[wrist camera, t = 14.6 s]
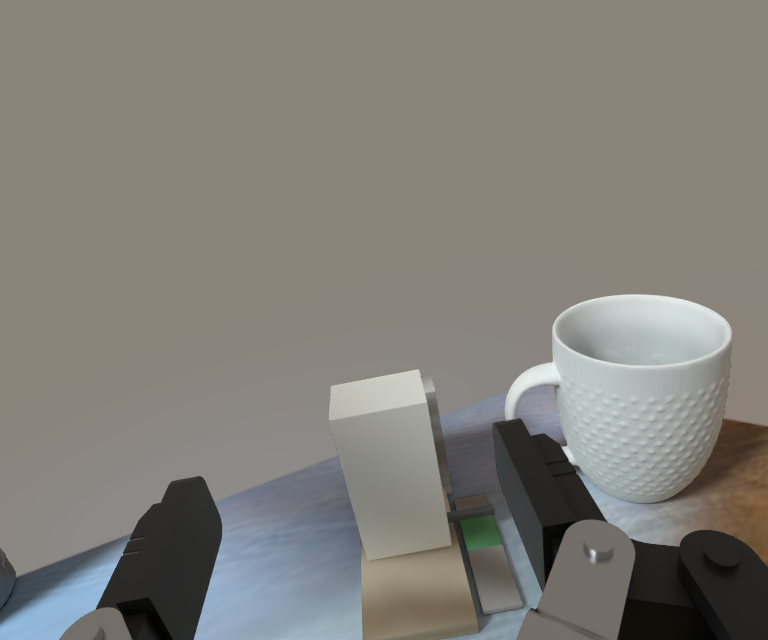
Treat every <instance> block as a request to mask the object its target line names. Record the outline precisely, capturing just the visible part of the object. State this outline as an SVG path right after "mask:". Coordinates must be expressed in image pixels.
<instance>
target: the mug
mask: <svg viewBox="0 0 768 640" xmlns="http://www.w3.org/2000/svg"><path fill="white" fill-rule="evenodd" d="M552 332H553V333H552V340H553V352H552V354H553V362H551V363H545V364H541V365H538V366H535V367H532V368H530V369H529V370H527V371H525V372H524V373H523V374H521V375H520V376H519V377H518V378H517V379H516V380H515V382H514V383H513V385H512V386H511V388H510V390H509V392H508V395H507V398H506V402H505V421H507V420H512V419H517V410H518V406H519V403H520V401H521V398H522V397H523V396H524V394H525V393H526V392H527V391H528V390H530V389H532V388H535V387H537V386H542V385H555V397H556V401H557V409H558V414H559V420H560V424H561V427H562V430H563V434H564V437H565V439H566V441H567V446H563V447H562V449H563V451H564V452H565V454H566V456H567V457H568V459H569V462H571V464H572V465H577V466H579V467H580V469H581V470H582V472H583V473H584V474H585V476H586V477H587V478H588V479H589V480H590V481H591V482H592V483H593V484H594V485H595V486H596V487H597V488H599V489H600V490H601V491H603V492H605V493H606V494H608V495H610V496H613V497H615V498H617V499H621V500H624V501H628V502H634V503H654V502H659V501H663V500H665V499H668V498H670V497H672V496H674V495H676V494H677V493H679V492H680V491H681V490H682V489H684V488H685V487H686V486H687V485H688V484H690V483H691V482H692V481H693V479H694V478H695V477H696V476H697V475H699V473H700V471H701V469H702V468H703V467H704V466H705V464H706V462H707V459H708V458H709V457H710V455H711V453H712V450H713V447H714V445H715V443H716V441H717V438H718V434H719V432H720V430H721V426H722V418H723V416H724V413H725V410H724V409H725V402H726V398H727V388H728V385H729V377H730V376H729V375H730V374H729V373H730V368H731V351H732V342H733V333H732V329H731V327H730V325H729V324H728V322H727V321H726V320H725V319H724V318H723V317H722V316H720V315H719V314H717V313H716V312H715V311H713V310H711V309H709V308H706V307H704V306H702V305H699V304H696V303H694V302H690V301H687V300H682V299H678V298H673V297H667V296H659V295H637V294H635V295H616V296H608V297H601V298H596V299H592V300H588V301H585V302H582V303H579V304H576V305H575V306H572V307H571V308H569V309H567V310H566V311H564V312H563V313H562V314H560V315H559V316H558V318H557V319H556V320H555V322H554V324H553V331H552Z"/></svg>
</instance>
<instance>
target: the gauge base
mask: <svg viewBox="0 0 768 640" xmlns="http://www.w3.org/2000/svg"><path fill="white" fill-rule="evenodd" d="M421 380H422V384H423V388H424V392H425V396H426V400H427V404H428V410H429V416H430V422H431V428H432V433H433V439H434V445H435V451H436V456H437V462H438V468H439V474H440V479H441V485H442V491H443V497H444V502H445V508H446V513H448V512H451V510H450V506H449V502H448V498H447V495H448V494H452V490H451V484H450V478H449V472H448V466H447V460H446V454H445V448H444V441H443V435H442V429H441V423H440V417H439V411H438V405H437V399H436V393H435V389H434V385H433V382H432V379H431V375H424V376H421ZM330 395H331V393H330ZM329 404H330V403H329ZM329 409H330V405H329ZM454 503H455V507H456V511H458V510H464V509H469V508H475V507H480V506H485V505H489V504H488V501H487V498H486V496H485V493H484V494H478V495H473V496H468V497H462V498H457V499H454ZM459 522H460V526H461V530H462V534H463V538H464V542H465V546H466V549H467V553H468V557H469V561H470V565H471V569H472V573H473V576H474V580H475V584H476V588H477V592H478V596H479V600H480V603H481V607H482V611H483V615H487V614H493V613H498V612H504V611H509V610H515V609H520V608H523V603H522V600H521V597H520V595H519V592H518V589H517V586H516V583H515V580H514V577H513V574H512V571H511V568H510V565H509V563H508V560H507V557H506V554H505V551H504V548H503V545H502V542H501V539H500V536H499V533H498V531H497V528H496V525H495V522H494V519H493V516H492V515H489V516H484V517H478V518H473V519H468V520H462V521H459ZM448 525H449V531H450V537H451V543H452V546H446V547H441V548H435V549H430V550H424V551H419V552H414V553H408V554H403V555H397V556H392V557H386V558H381V559H375V560H370V561H367V558H366V554H365V551H364V547H363V543H362V540H361V582H362V629H363V640H440V639H445V638H451V637H456V636H462V635H467V634H473V633H478V632H479V626H478V620H477V616H476V612H475V608H474V604H473V600H472V596H471V592H470V588H469V584H468V580H467V576H466V571H465V567H464V563H463V559H462V555H461V551H460V547H459V543H458V539H457V535H456V531H455V526H454V522H451V523H448Z"/></svg>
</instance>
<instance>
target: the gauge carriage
mask: <svg viewBox="0 0 768 640" xmlns="http://www.w3.org/2000/svg"><path fill="white" fill-rule="evenodd" d="M329 424H330V427H331V431H332V434H333V438H334V442H335V446H336V449H337V453H338V456H339V460H340V464H341V467H342V471H343V475H344V478H345V482H346V485H347V489H348V493H349V496H350V500H351V504H352V507H353V511H354V514H355V518H356V522H357V525H358V529H359V533H360V536H361V540H362V543H363V547H364V551H365V554H366V558H367V561H370V560H375V559H381V558H386V557H392V556H397V555H403V554H408V553H414V552H419V551H424V550H430V549H435V548H441V547H446V546H452V543H451V537H450V531H449V525H448V523H451V522H457V521H462V520H468V519H473V518H478V517H484V516H489V515H495V514H494V508H493V505H492V504H491V505H485V506H480V507H475V508H469V509H464V510H458V511H453V512H448V513H446V508H445V502H444V497H443V491H442V485H441V479H440V474H439V468H438V462H437V456H436V451H435V445H434V439H433V433H432V428H431V422H430V416H429V410H428V404H427V400H426V396H425V392H424V388H423V384H422V380H421V376H420V372H419V370H413V371H407V372H402V373H397V374H392V375H386V376H381V377H376V378H371V379H365V380H360V381H355V382H350V383H344V384H339V385H334V386H331V395H330V409H329Z"/></svg>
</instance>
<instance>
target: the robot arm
mask: <svg viewBox="0 0 768 640" xmlns="http://www.w3.org/2000/svg"><path fill="white" fill-rule="evenodd" d="M493 437H494V448H495V458H496V468H497V474H498V478H499V482H500V486H501V489H502V491H503V494H504V496H505V499H506V501H507V504H508V507H509V509H510V512H511V514H512V517H513V519H514V522H515V524H516V527H517V529H518V532H519V534H520V537H521V539H522V542H523V544H524V547H525V550H526V552H527V555H528V557H529V560H530V562H531V565H532V567H533V570H534V572H535V575H536V577H537V580H538V582H539V585H540V588H541V590H542V593H543V594H542V597H541V599H540V602H539V605H538V607H537V608H536V609H533V608H531V609H530V610H529V611H528V613H527V615H526V617H525V619H524V621H523V624H522V626H521V629H520V632H519V634H518V637H517V639H516V640H768V567H767V566H766V565H765V564H764V562H763V561H762V560H761V559H760V558H759V556H758V555H757V554H756V553H755V552H754V551H753V550H752V549H751V548H750V547H749V546H748V545H746V544H745V543H743V542H742V541H740V540H739V539H737V538H735V537H733V536H730V535H728V534H725V533H722V532H718V531H713V530H699V531H694V532H692V533H689V534H688V535H686V536H685V537H684V538H683V539H682V541H681V543H680V547H677V546H667V545H657V544H649V543H643V542H639V541H636V540H633V539H630V538H629V537H628V536H627V535H626V534H625V533H624V532H623V531H622V530H621V529H619V528H618V527H616V526H614V525H612V524H610V523H608V522H607V521H606V519H605V518H604V516H603V515H602V513H601V511H600V510H599V508H598V506H597V505H596V503H595V501H594V500H593V498H592V497H591V495H590V493H589V492H588V490H587V488H586V487H585V485H584V483H583V482H582V480H581V479H580V477H579V475H578V474H576V470H575V469H574V467H573V465H572V464H571V462H569V459H568V457H567V456H566V454H565V452H564V451H563V449H562V447H561V446H560V444H558V443H557V442H555V441H554V440H553V439H551V438H550V437H549V436H547V435H546V434H538V435H533V436H530V434H529V432H528V430H527V428H526V427H525V425H524V423H523V421H522V420H521V419H520V418H518V419H512V420H507V421H501V422H496V423H493ZM221 539H222V522H221V518H220V515H219V512H218V510H217V508H216V505H215V503H214V501H213V498H212V496H211V494H210V491H209V489H208V487H207V484H206V482H205V480H204V479H203V478H202V477H201V476H198V477H192V478H187V479H182V480H176V481H172V482H171V483H170V484H169V486H168V488H167V490H166V493H165V495H164V497H163V499H162V502H161V503H158V504H153V505H152V506H151V508H150V509H149V510H148V511H147V512H146V513H145V514H144V515H143V517H142V518H141V519H140V520H139V521H138V523H137V525H136V527H135V529H134V531H133V533H132V535H131V537H130V542H128V544H127V546H126V548H125V550H124V552H123V556H121V558H120V560H119V562H118V564H117V566H116V568H115V570H114V572H113V574H112V577H111V579H110V581H109V583H108V585H107V587H106V589H105V591H104V593H103V595H102V597H101V599H100V601H99V603H98V605H97V607H96V609H95V610H94V611H92V612H90V613H88V614H86V615H84V616H83V617H81V618H80V619H78V620H77V621H76V622H75V623H74V624H72V625H71V626H70V627H69V628H68V629H67V630H66V631H65V633H64V634H63V635H62V636H61V638H60V639H59V640H194V636H195V633H196V629H197V625H198V622H199V618H200V615H201V611H202V608H203V604H204V600H205V597H206V593H207V590H208V586H209V582H210V579H211V575H212V572H213V568H214V565H215V561H216V557H217V554H218V550H219V547H220V543H221ZM15 581H16V572H15V570H14V568H13V566H12V565H11V564H10V562H9V561H8V559H7V558H6V555H5V553H4V552H3V551H2V549H1V548H0V608H1V607H2V606H3V604H4V603H5V602H6V600H7V599H8V597H9V595H10V593H11V592H12V590H13V587H14V584H15Z"/></svg>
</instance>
